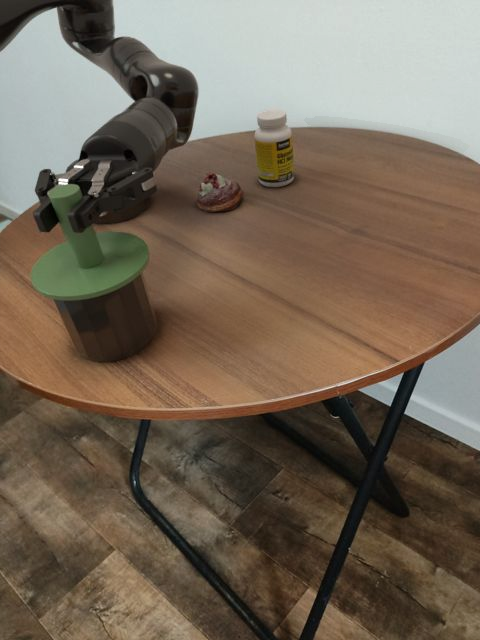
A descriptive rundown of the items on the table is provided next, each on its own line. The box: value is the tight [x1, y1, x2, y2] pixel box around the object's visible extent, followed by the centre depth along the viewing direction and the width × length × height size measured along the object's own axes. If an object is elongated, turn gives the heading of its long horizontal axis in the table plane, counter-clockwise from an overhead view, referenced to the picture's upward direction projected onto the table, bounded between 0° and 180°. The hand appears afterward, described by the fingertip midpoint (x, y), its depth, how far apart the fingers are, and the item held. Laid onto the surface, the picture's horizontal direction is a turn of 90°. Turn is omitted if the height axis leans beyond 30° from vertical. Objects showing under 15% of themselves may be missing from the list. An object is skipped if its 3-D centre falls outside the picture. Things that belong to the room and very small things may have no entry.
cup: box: [51, 271, 158, 363], centre depth 60 cm, size 10×10×9 cm
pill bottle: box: [253, 109, 295, 188], centre depth 86 cm, size 6×6×11 cm
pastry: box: [196, 171, 244, 213], centre depth 84 cm, size 8×8×5 cm
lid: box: [30, 184, 151, 301], centre depth 54 cm, size 13×13×9 cm
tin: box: [66, 158, 151, 225], centre depth 86 cm, size 12×12×8 cm
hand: (56, 223), depth 50 cm, fingers closed on lid, 3 cm apart
